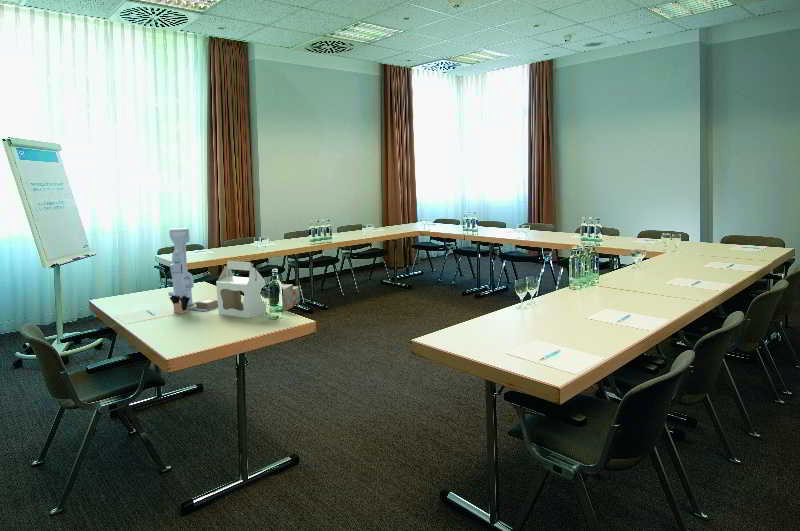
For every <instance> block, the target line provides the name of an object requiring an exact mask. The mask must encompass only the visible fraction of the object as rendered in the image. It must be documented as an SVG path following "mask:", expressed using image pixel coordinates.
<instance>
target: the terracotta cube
mask: <svg viewBox="0 0 800 531" xmlns="http://www.w3.org/2000/svg"><path fill="white" fill-rule="evenodd" d="M172 304H173V303H172ZM188 309H189V305H187V310H183V309H182V303H181V302H178V303H175V304H173V312H174V314H185V313H188V312H189V310H188Z"/></svg>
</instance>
